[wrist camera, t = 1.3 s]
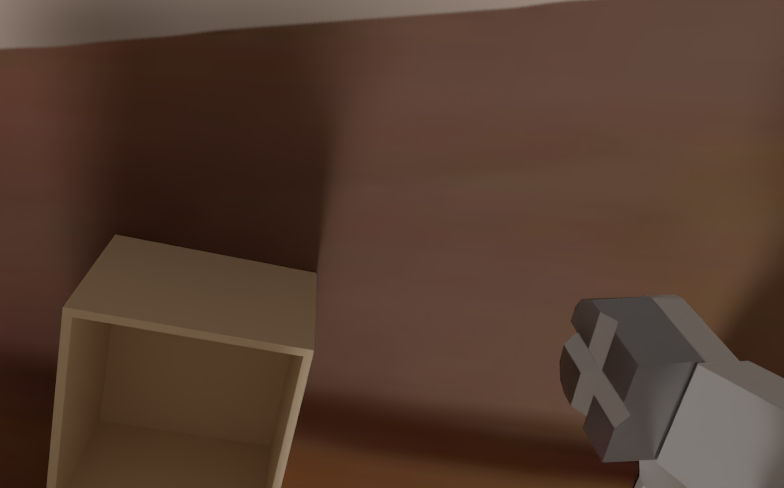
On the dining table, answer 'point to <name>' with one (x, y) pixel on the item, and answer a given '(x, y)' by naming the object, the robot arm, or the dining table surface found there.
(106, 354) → the carton
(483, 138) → the dining table surface
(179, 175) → the dining table surface
